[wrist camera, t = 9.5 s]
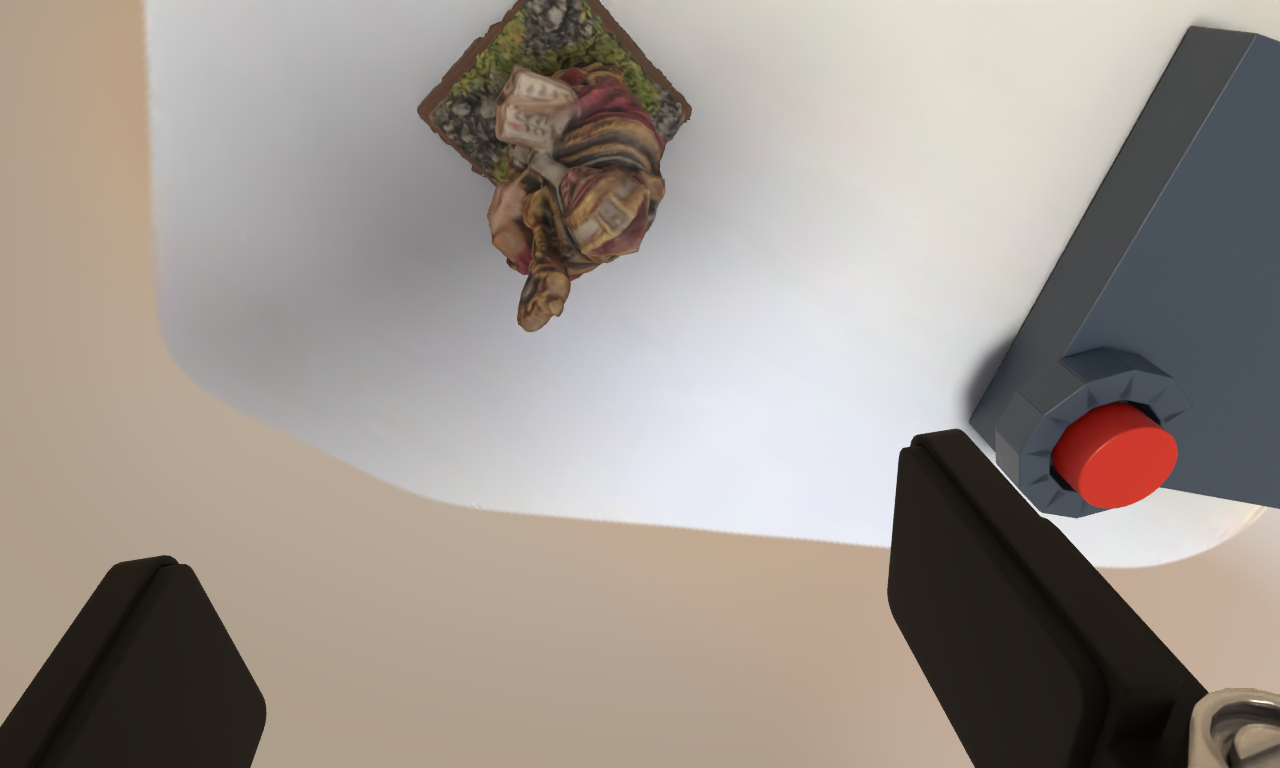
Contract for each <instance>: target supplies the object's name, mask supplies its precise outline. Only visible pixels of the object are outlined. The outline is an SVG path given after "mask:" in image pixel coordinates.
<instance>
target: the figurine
mask: <svg viewBox="0 0 1280 768" xmlns="http://www.w3.org/2000/svg"><path fill="white" fill-rule="evenodd" d="M417 111H418V114H419V116H420V118H421V119H423V120H424V121H425V122H426V123H427V124H428V125H429V126H430V127H431V129H432V131H433V132H434V133H438V134H439V136H440V137H441V139H442V140H443V141H444V142H445V143H446V144H448V145H451V146H452V147H453V148H454V149H455V150H456V151H457V152H458V153H460V154H461V156H462V157H463V158H465V159H466V160H468V161H469V162H470V163H471V164H472V169H471V171H473V172H475V173H477V174H479V175H481V176H482V174H484V175H485V176H483V177H487V178H488V179H489V180H490V181H491V182H492V183H493V184H494V185H495V186H496V190H495V193H494V196H493V199H492V202H491V205H490V207H489V210H488V214H487V217H488V220H489V226H490V229H491V234H492V244H493V245H494V246H495V247H496V248H497V249H499V250H500V251H501V252H502V253H503V254H504V255H505V256H506V257H507V264H508V265H509V266H510V268H512V269H514V270H516V271H518V272H519V273H521V274H522V275H529V276H528V278H527V281H526V283H525V285H524V288H523V291H522V293H521V298H520V302H519V307H518V316H517V321H518V325H520V326H521V327H523V329H524V330H525V331H527V332H534V331H536V330H538V329H540V328H542V327H543V326H544V325H545V324H546V323H547V322H548V321H549V320H550V318H551V317H552V316H554V315H555V316H557V317H559V316H560V315H561V314H562V312H563V309H564V306H563V304H564V303H565V301H566V299H567V298H568V295H569V292H570V287H571V282H570V281H572V280H574V279H576V278H579V277H580V276H581V275H582V274H583V273H587V272H589V271H592V270H593V269H595V268H596V267H598V266H599V265H600V264H602V263H608V262H611V261H613V260H614V259H616V258H618V257H619V256H620V255H626V254H631V253H634V252H638V250H639V247H640V244H641V241H642V239H643V237H644V235H645V233H646V232H647V231H648V230H649V228H650V226H651V225H652V223H653V221H654V219H655V216H656V211H657V207H658V205H659V203H660V201H661V199H662V198H663V196H664V193H665V180H664V179H663V178H662V176H661V173H660V165H659V163H660V160H661V158H662V155H663V152H664V149H665V145H666V143H667V142H668V141H670V140H671V139H672V138H673V137H674V135H675V134H676V133H677V131H678V129H679V128H680V126H681V125H682V124H683V123H684V122H687V121H686V120H690V118H689V117H690V116H691V111H692V108H691V106H690V105H689V104H688V103H687V101H686V100H685V98H684V96H683V95H682V94H680V93H679V92H678V91H676V90H675V89H674V88H673V87H672V84H671V83H670V82H669V81H668V80H666V77H665V76H664V75H663V74H662V72H661V71H660V70H659V69H657V68H656V67H654V66H653V65H652V62H651V61H649V60H648V59H647V58H646V57H645V54H643V52H642V51H641V49H639V47H638V46H637V44H636V43H635V42H634V41H633V40H631V38H630V36H629V35H628V34H627V33H626V31H624V30H623V29H622V28H621V27H620V25H619V24H618V22H616V21H615V20H614V18H613V17H612V16H611V15H610V13H609V12H608V10H606V8H604V6H603V5H602V4H601V2H600V1H599V0H518V1H517V2H516V3H515V4H514V6H513V8H512V10H509V11H508V12H507V13H506V15H505V16H504V18H503V20H502V22H498V23H496V24H494V25H491V26H490V28H489V30H488V34H487V33H486V34H485V37H483V38H481V37H479V38H478V39H476V40H475V41H474V42H473V43H472V44H471V46H470V47H469V48H468V49H467V50H466V51H465V52H464V54H463V56H462V57H461V58H460V59H459V60H458V61H457V62H456V63H455V64H454V65H453V66H452V67H451V68H450V70H449V71H448V72H447V73H446V75H445V76H444V77H443V78H442V82H441V83H440V84H439V85H437V86H436V87H435V88H434V89H433V90H432V91H431V93H430V94H429V95H428V96H427V97H426V98H425V99H424V100H423V101H422V102H421V104H420V105H419V106H418V109H417Z"/></svg>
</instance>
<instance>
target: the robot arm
mask: <svg viewBox="0 0 1280 768" xmlns="http://www.w3.org/2000/svg"><path fill="white" fill-rule="evenodd" d="M887 593H888V594H887V595H888V602H889V606H890V609H891V612H892V615H893V617H894V619H895V621H896V623H897V625H898V627H899V629H900V630H901V632H902V634H903V636H904V638H905V640H906V641H907V643H908V645H909V647H910V649H911V650H912V652H913V654H914V656H915V658H916V660H917V662H918V663H919V665H920V667H921V669H922V671H923V673H924V674H925V676H926V678H927V680H928V682H929V684H930V686H931V687H932V689H933V691H934V693H935V695H936V697H937V698H938V700H939V702H940V704H941V706H942V708H943V710H944V711H945V713H946V715H947V717H948V719H949V721H950V723H951V724H952V726H953V728H954V730H955V732H956V733H957V735H958V737H959V739H960V741H961V742H962V745H963V746H964V748H965V750H966V752H967V754H968V756H969V758H970V759H971V761H972V763H973V765H974V767H975V768H1280V695H1279V694H1274V693H1270V692H1266V691H1261V690H1257V689H1253V688H1252V689H1251V688H1226V689H1223V690H1219V691H1215V692H1212V693H1209V692H1208V691H1207V690H1206V689H1205V688H1204V687H1203V686H1202V685H1201V684H1200V683H1199V682H1198V680H1197V679H1196V678H1195V677H1194V676H1193V675H1192V674H1191V673H1190V672H1189V671H1188V669H1187V668H1186V667H1185V666H1184V665H1183V664H1182V663H1181V662H1180V661H1179V660H1178V659H1177V657H1176V656H1175V655H1174V654H1173V653H1172V652H1171V651H1170V650H1169V649H1168V648H1167V647H1166V645H1165V644H1164V643H1163V642H1162V641H1161V640H1160V639H1159V638H1158V637H1157V636H1156V634H1155V633H1154V632H1153V631H1152V630H1151V629H1150V628H1149V627H1148V626H1147V625H1146V624H1145V622H1144V621H1143V620H1142V619H1141V618H1140V617H1139V616H1138V615H1137V614H1136V613H1135V612H1134V610H1133V609H1132V608H1131V607H1130V606H1129V605H1128V604H1127V603H1126V602H1125V601H1124V600H1123V598H1122V597H1121V596H1120V595H1119V594H1118V593H1117V592H1116V591H1115V590H1114V589H1113V588H1112V586H1111V585H1110V584H1109V583H1108V582H1107V581H1106V580H1105V579H1104V578H1103V577H1102V575H1101V574H1100V573H1099V572H1098V571H1097V570H1096V569H1095V568H1094V567H1093V566H1092V564H1091V563H1090V562H1089V561H1088V560H1087V559H1086V558H1085V557H1084V556H1083V555H1082V554H1081V552H1080V551H1079V550H1078V549H1077V548H1076V547H1075V546H1074V545H1073V544H1072V543H1071V542H1070V540H1069V539H1068V538H1067V537H1066V536H1065V535H1064V534H1063V533H1062V532H1061V531H1060V530H1059V528H1058V527H1056V526H1055V525H1054V524H1053V523H1052V522H1051V521H1049V520H1048V519H1046V518H1043V517H1041V516H1039V514H1038V513H1037V512H1036V511H1035V510H1034V509H1033V508H1032V507H1031V506H1030V504H1029V503H1028V502H1027V501H1026V500H1025V499H1024V498H1023V497H1022V496H1021V494H1020V493H1019V492H1018V491H1017V490H1016V489H1015V488H1014V487H1013V486H1012V484H1011V483H1010V482H1009V481H1008V480H1007V479H1006V478H1005V477H1004V476H1003V474H1002V473H1001V472H1000V471H999V470H998V469H997V468H996V467H995V466H994V465H993V463H992V462H991V461H990V460H989V459H988V458H987V457H986V456H985V455H984V453H983V452H982V451H981V450H980V449H979V448H978V447H977V446H976V445H975V443H974V442H973V441H972V440H971V439H970V438H969V437H968V436H967V435H966V434H965V433H964V432H963V431H962V430H960V429H950V430H944V431H938V432H932V433H925V434H919V435H916V436H914V437H913V439H912V441H911V445H910V447H907V448H903V449H902V450H901V451H900V455H899V462H898V474H897V485H896V497H895V508H894V519H893V531H892V542H891V555H890V565H889V578H888V588H887ZM265 722H266V704H265V700H264V697H263V695H262V693H261V692H260V690H259V688H258V686H257V684H256V683H255V681H254V679H253V677H252V675H251V674H250V672H249V670H248V668H247V667H246V665H245V663H244V661H243V659H242V657H241V656H240V654H239V652H238V650H237V648H236V647H235V645H234V643H233V641H232V639H231V638H230V636H229V634H228V632H227V630H226V629H225V627H224V625H223V623H222V621H221V620H220V618H219V616H218V614H217V612H216V611H215V609H214V607H213V605H212V604H211V602H210V600H209V598H208V596H207V594H206V593H205V591H204V589H203V587H202V585H201V584H200V582H199V580H198V578H197V576H196V575H195V573H194V571H193V570H192V568H191V567H190V566H188V565H186V564H179V563H178V562H177V561H176V559H174V558H173V557H171V556H165V555H163V556H157V557H150V558H144V559H138V560H132V561H125V562H120V563H118V564H116V565H114V566H113V567H112V568H111V569H110V570H109V571H108V572H107V574H106V575H105V577H104V578H103V580H102V581H101V583H100V584H99V585H98V587H97V588H96V590H95V591H94V593H93V594H92V596H91V597H90V598H89V600H88V601H87V603H86V604H85V606H84V607H83V608H82V610H81V611H80V613H79V614H78V616H77V617H76V619H75V620H74V622H73V623H72V625H71V626H70V627H69V629H68V630H67V632H66V633H65V634H64V636H63V637H62V639H61V641H60V642H59V643H58V645H57V646H56V647H55V649H54V650H53V652H52V653H51V655H50V656H49V658H48V659H47V660H46V662H45V663H44V665H43V666H42V668H41V669H40V671H39V672H38V673H37V675H36V676H35V678H34V679H33V681H32V682H31V684H30V685H29V686H28V688H27V689H26V691H25V692H24V694H23V695H22V697H21V698H20V700H19V701H18V702H17V704H16V705H15V707H14V708H13V710H12V711H11V712H10V714H9V716H8V717H7V718H6V720H5V721H4V723H3V724H2V725H1V727H0V768H250V767H251V764H252V761H253V758H254V755H255V753H256V750H257V747H258V744H259V741H260V738H261V736H262V732H263V730H264V726H265Z"/></svg>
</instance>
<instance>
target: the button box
mask: <svg viewBox="0 0 1280 768" xmlns="http://www.w3.org/2000/svg"><path fill="white" fill-rule="evenodd" d="M1112 402H1120V403H1126V404H1130V405H1132V406H1134V407H1136V408H1137V409H1139V410H1140V411H1141V412H1143V413H1144V414H1145V415H1147V416H1148V417H1149V418H1150V419H1152V420H1153V421H1154V422H1156V423H1157V424H1158V425H1160V426H1161V427H1162V428H1163V429H1165V430H1166V431H1167V432H1169V433H1170V434H1171V435H1172V436H1173V438H1174V439H1175V441H1176V444H1177V448H1178V456H1177V461H1176V464H1175V466H1174V468H1173V470H1172V472H1171V474H1170V475H1169V477H1168V478H1167V479H1166V480H1165V482H1164V483H1163V484H1162V485H1161V486H1160V487H1162V488H1167V489H1173V490H1178V491H1184V492H1190V493H1195V494H1201V495H1206V496H1212V497H1217V498H1223V499H1228V500H1234V501H1239V502H1245V503H1251V504H1256V505H1262V506H1267V507H1273V508H1278V509H1280V42H1279V41H1277V40H1274V39H1271V38H1268V37H1266V36H1263V35H1260V34H1257V33H1249V32H1241V31H1232V30H1223V29H1214V28H1206V27H1197V26H1191V27H1190V29H1189V31H1188V32H1187V34H1186V36H1185V38H1184V40H1183V41H1182V43H1181V45H1180V47H1179V49H1178V50H1177V52H1176V54H1175V56H1174V57H1173V59H1172V61H1171V63H1170V65H1169V66H1168V68H1167V70H1166V72H1165V74H1164V75H1163V77H1162V79H1161V81H1160V82H1159V84H1158V86H1157V88H1156V90H1155V91H1154V93H1153V95H1152V97H1151V98H1150V100H1149V102H1148V104H1147V106H1146V107H1145V109H1144V111H1143V113H1142V115H1141V116H1140V118H1139V120H1138V122H1137V123H1136V125H1135V127H1134V129H1133V131H1132V132H1131V134H1130V136H1129V138H1128V139H1127V141H1126V143H1125V145H1124V147H1123V148H1122V150H1121V152H1120V154H1119V156H1118V157H1117V159H1116V161H1115V163H1114V164H1113V166H1112V168H1111V170H1110V172H1109V173H1108V175H1107V177H1106V179H1105V181H1104V182H1103V184H1102V186H1101V188H1100V189H1099V191H1098V193H1097V195H1096V197H1095V198H1094V200H1093V202H1092V204H1091V205H1090V207H1089V209H1088V211H1087V213H1086V214H1085V216H1084V218H1083V220H1082V222H1081V223H1080V225H1079V227H1078V229H1077V230H1076V232H1075V234H1074V236H1073V238H1072V239H1071V241H1070V243H1069V245H1068V246H1067V248H1066V250H1065V252H1064V254H1063V255H1062V257H1061V259H1060V261H1059V263H1058V264H1057V266H1056V268H1055V270H1054V271H1053V273H1052V275H1051V277H1050V279H1049V280H1048V282H1047V284H1046V286H1045V287H1044V289H1043V291H1042V293H1041V295H1040V296H1039V298H1038V300H1037V302H1036V304H1035V305H1034V307H1033V309H1032V311H1031V312H1030V314H1029V316H1028V318H1027V320H1026V321H1025V323H1024V325H1023V327H1022V329H1021V330H1020V332H1019V334H1018V336H1017V337H1016V339H1015V341H1014V343H1013V345H1012V346H1011V348H1010V350H1009V352H1008V353H1007V355H1006V357H1005V359H1004V361H1003V362H1002V364H1001V366H1000V368H999V370H998V371H997V373H996V375H995V377H994V378H993V380H992V382H991V384H990V386H989V387H988V389H987V391H986V393H985V394H984V396H983V398H982V400H981V402H980V403H979V405H978V407H977V409H976V411H975V412H974V414H973V416H972V418H971V419H970V421H969V423H970V424H971V425H972V427H973V428H974V429H975V430H976V431H977V432H978V433H979V434H980V435H981V437H982V438H983V439H984V440H985V441H986V442H987V443H988V444H989V445H990V447H991V448H992V449H993V450H994V451H995V452H996V463H997V465H998V466H999V467H1000V468H1001V469H1002V470H1003V472H1004V473H1005V474H1006V475H1007V476H1008V477H1009V478H1010V480H1011V481H1012V482H1013V483H1014V484H1015V485H1016V486H1017V487H1018V489H1019V490H1020V491H1021V492H1022V493H1023V494H1024V495H1025V496H1026V497H1027V498H1028V499H1029V500H1030V501H1031V503H1032V504H1033V505H1034V506H1035V507H1036V508H1037V509H1038V510H1039V511H1041V512H1042V513H1048V514H1054V515H1060V516H1066V517H1072V518H1079V517H1084V516H1087V515H1091V514H1095V513H1098V512H1102V511H1106V510H1109V509H1106V508H1099V507H1096V506H1093V505H1091V504H1089V503H1087V502H1086V501H1085V500H1084V499H1083V498H1082V497H1081V496H1080V495H1079V494H1078V493H1077V492H1076V491H1075V490H1074V489H1073V488H1072V487H1071V486H1070V485H1069V484H1068V483H1067V482H1066V481H1065V480H1064V479H1063V478H1062V477H1061V476H1060V475H1059V474H1058V473H1057V471H1056V470H1055V468H1054V466H1053V462H1052V450H1053V448H1054V446H1055V445H1056V443H1057V442H1058V440H1059V439H1060V437H1061V435H1062V434H1063V432H1064V431H1065V429H1066V428H1067V427H1068V426H1069V425H1070V424H1072V423H1073V422H1074V421H1076V420H1077V419H1079V418H1080V417H1081V416H1083V415H1084V414H1085V413H1087V412H1088V411H1090V410H1091V409H1092V408H1094V407H1098V406H1101V405H1105V404H1109V403H1112ZM1111 509H1113V508H1111Z"/></svg>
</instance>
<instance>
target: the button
mask: <svg viewBox="0 0 1280 768" xmlns="http://www.w3.org/2000/svg"><path fill="white" fill-rule="evenodd" d="M1177 456H1178V448H1177V444H1176V441H1175V439H1174V438H1173V436H1172V435H1171V434H1170V433H1169V432H1167V431H1166V430H1165V429H1163V428H1162V427H1161V426H1160V425H1158V424H1157V423H1156V422H1154V421H1153V420H1152V419H1150V418H1149V417H1148V416H1147V415H1145V414H1144V413H1143V412H1141V411H1140V410H1139V409H1137V408H1136V407H1134V406H1132V405H1130V404H1126V403H1120V402H1112V403H1109V404H1105V405H1101V406H1098V407H1094V408H1092V409H1091V410H1090V411H1088V412H1087V413H1085V414H1084V415H1083V416H1081V417H1080V418H1079V419H1077V420H1076V421H1074V422H1073V423H1072V424H1070V425H1069V426H1068V427H1067V428H1066V429H1065V431H1064V432H1063V434H1062V435H1061V437H1060V439H1059V440H1058V442H1057V443H1056V445H1055V446H1054V448H1053V450H1052V462H1053V466H1054V468H1055V470H1056V471H1057V473H1058V474H1059V475H1060V476H1061V477H1062V478H1063V479H1064V480H1065V481H1066V482H1067V483H1068V484H1069V485H1070V486H1071V487H1072V488H1073V489H1074V490H1075V491H1076V492H1077V493H1078V494H1079V495H1080V496H1081V497H1082V498H1083V499H1084V500H1085V501H1086V502H1087V503H1089V504H1091V505H1093V506H1096V507H1099V508H1106V509H1111V508H1120V507H1124V506H1127V505H1131V504H1133V503H1135V502H1138V501H1140V500H1142V499H1143V498H1145V497H1147V496H1148V495H1150V494H1151V493H1153V492H1154V491H1155V490H1156V489H1157V488H1159V487H1160V486H1161V485H1162V484H1163V483H1164V482H1165V480H1166V479H1167V478H1168V477H1169V475H1170V474H1171V472H1172V470H1173V468H1174V466H1175V464H1176V461H1177Z"/></svg>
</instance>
